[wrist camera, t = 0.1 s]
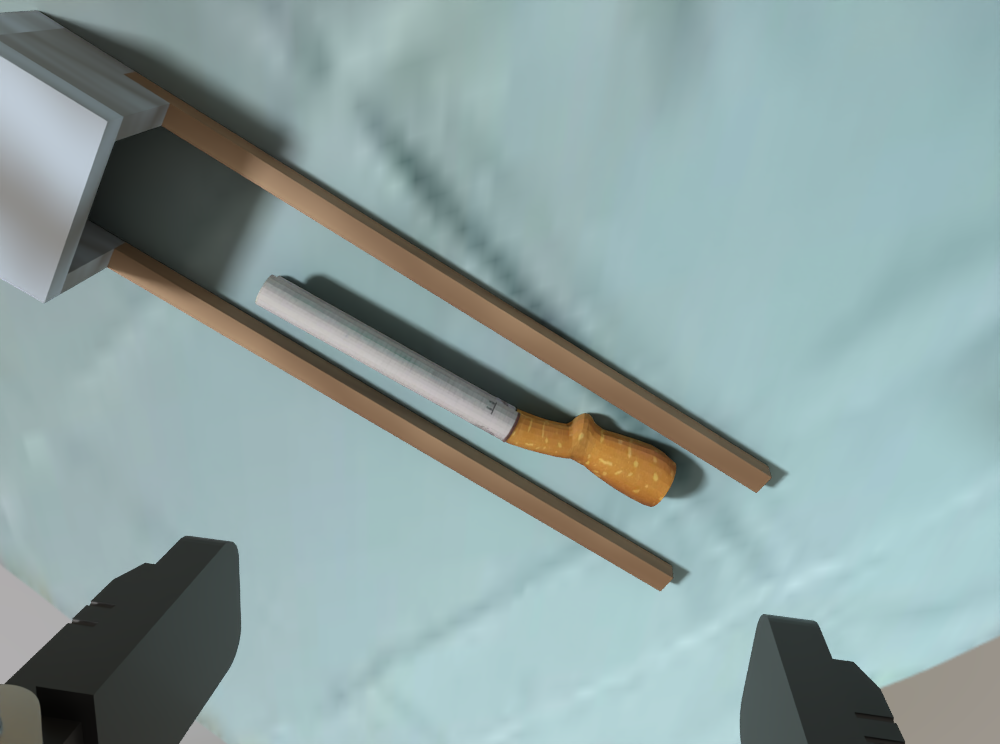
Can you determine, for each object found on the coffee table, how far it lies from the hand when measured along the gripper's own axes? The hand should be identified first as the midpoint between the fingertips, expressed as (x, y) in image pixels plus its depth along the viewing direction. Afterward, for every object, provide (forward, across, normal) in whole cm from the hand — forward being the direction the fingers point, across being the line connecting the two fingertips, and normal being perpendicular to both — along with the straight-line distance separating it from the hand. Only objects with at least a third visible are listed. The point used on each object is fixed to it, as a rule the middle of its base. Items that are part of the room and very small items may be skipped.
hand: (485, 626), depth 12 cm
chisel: (+24, +4, +4) cm, 24 cm away
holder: (+23, +8, +2) cm, 24 cm away
